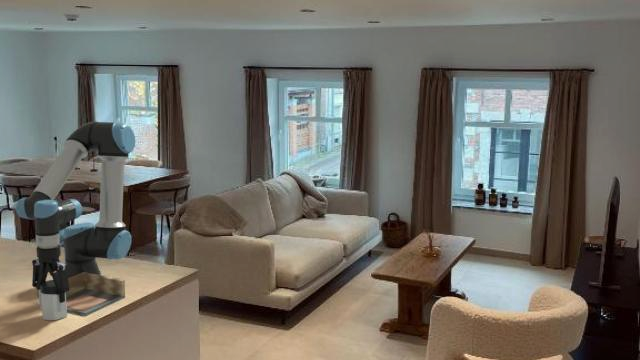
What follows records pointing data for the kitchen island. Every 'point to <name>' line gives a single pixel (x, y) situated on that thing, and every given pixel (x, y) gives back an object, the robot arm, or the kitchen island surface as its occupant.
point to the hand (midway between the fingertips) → (51, 308)
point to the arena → (93, 292)
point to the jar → (51, 302)
